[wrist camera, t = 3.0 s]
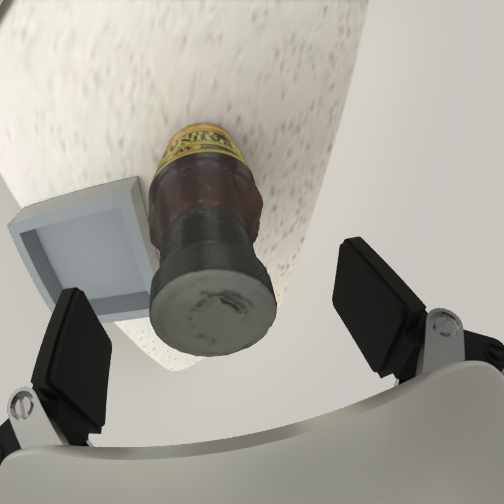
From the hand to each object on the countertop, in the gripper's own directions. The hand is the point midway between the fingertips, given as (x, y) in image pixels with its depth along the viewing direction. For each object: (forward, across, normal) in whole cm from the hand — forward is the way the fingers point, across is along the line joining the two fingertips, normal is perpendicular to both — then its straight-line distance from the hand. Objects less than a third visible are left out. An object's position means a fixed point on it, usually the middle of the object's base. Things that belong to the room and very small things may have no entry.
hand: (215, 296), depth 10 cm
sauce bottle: (+19, 0, -1) cm, 19 cm away
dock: (+19, +12, +7) cm, 24 cm away
